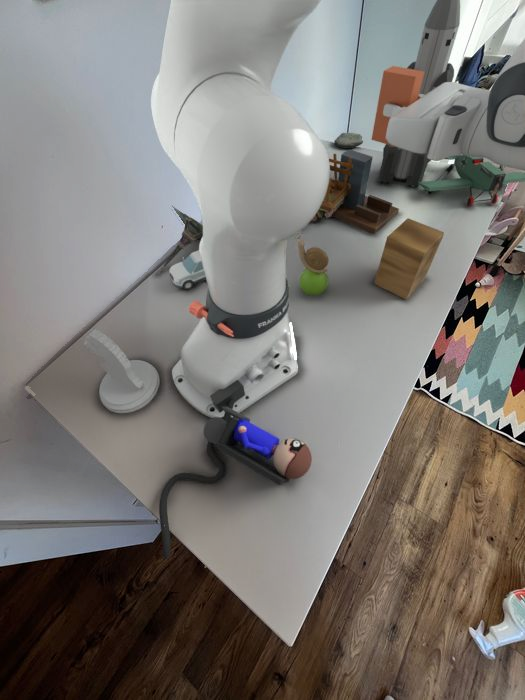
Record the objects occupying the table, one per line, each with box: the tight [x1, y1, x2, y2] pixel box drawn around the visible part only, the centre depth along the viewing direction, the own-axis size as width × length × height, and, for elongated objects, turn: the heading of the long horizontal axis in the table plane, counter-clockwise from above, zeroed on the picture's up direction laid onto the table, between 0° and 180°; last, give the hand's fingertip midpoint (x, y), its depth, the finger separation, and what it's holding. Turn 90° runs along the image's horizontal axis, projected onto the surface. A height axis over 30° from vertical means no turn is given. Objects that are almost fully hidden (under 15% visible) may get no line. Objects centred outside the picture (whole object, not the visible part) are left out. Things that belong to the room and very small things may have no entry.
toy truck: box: [309, 153, 353, 224], centre depth 79 cm, size 11×25×15 cm, turn 55°
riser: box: [373, 217, 445, 300], centre depth 63 cm, size 7×7×11 cm
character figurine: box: [203, 407, 313, 486], centre depth 46 cm, size 8×7×15 cm
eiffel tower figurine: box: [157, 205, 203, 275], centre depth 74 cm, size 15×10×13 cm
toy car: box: [169, 249, 206, 290], centre depth 70 cm, size 6×13×5 cm, turn 119°
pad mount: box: [330, 148, 400, 235], centre depth 77 cm, size 10×14×12 cm
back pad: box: [371, 65, 424, 148], centre depth 62 cm, size 3×6×11 cm, turn 47°
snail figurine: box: [296, 233, 330, 296], centre depth 63 cm, size 5×6×12 cm
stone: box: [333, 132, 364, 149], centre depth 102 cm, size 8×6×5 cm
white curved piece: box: [83, 328, 161, 414], centre depth 51 cm, size 10×10×15 cm
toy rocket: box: [378, 0, 461, 189], centre depth 75 cm, size 12×9×35 cm
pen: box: [427, 163, 455, 195], centre depth 88 cm, size 1×16×1 cm, turn 142°
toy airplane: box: [418, 154, 525, 208], centre depth 82 cm, size 22×25×11 cm
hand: (391, 104), depth 62 cm, fingers closed on back pad, 3 cm apart
